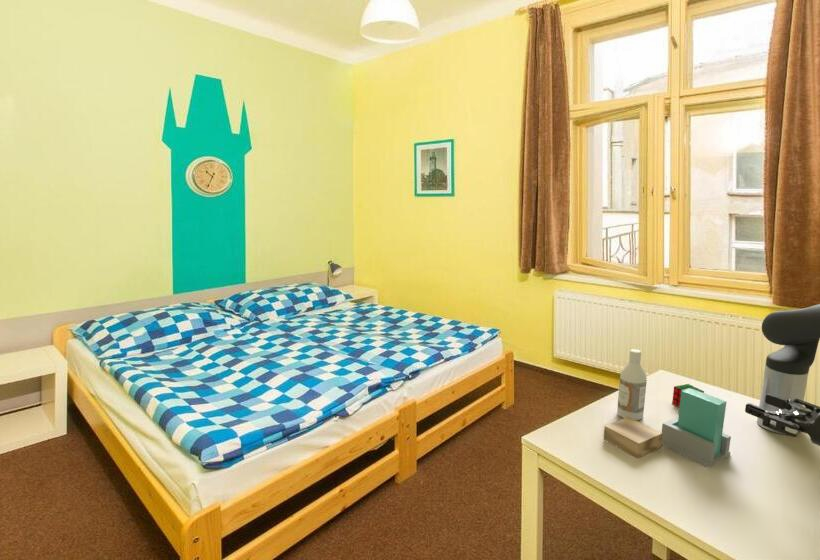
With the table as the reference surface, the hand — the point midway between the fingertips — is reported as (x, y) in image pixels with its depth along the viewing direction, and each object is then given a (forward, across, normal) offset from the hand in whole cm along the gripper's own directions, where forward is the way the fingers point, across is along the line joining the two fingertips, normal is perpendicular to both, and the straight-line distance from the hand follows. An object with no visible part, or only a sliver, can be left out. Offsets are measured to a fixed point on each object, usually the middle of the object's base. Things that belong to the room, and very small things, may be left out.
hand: (756, 402), depth 108 cm
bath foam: (+31, -1, +19) cm, 37 cm away
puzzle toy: (+26, -21, +19) cm, 39 cm away
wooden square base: (+21, +12, +18) cm, 30 cm away
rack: (+12, +1, +18) cm, 22 cm away
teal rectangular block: (+11, +1, +17) cm, 20 cm away
